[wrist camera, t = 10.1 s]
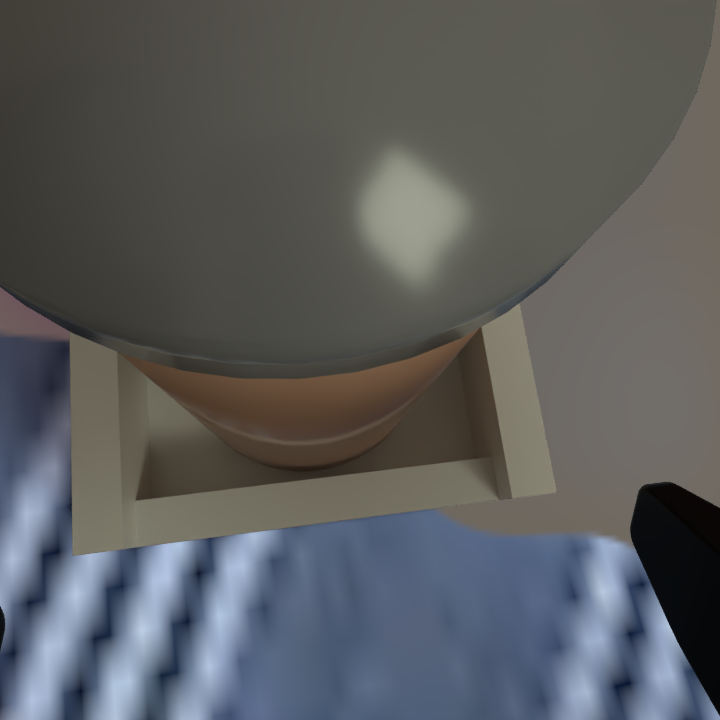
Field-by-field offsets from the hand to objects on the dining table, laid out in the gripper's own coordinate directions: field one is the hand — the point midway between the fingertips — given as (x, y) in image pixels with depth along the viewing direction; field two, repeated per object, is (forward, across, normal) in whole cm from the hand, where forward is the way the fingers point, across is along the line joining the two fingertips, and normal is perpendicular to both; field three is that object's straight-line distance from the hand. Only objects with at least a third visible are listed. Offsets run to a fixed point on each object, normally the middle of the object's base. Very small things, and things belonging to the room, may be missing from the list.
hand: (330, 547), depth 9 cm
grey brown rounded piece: (+8, 0, +2) cm, 9 cm away
